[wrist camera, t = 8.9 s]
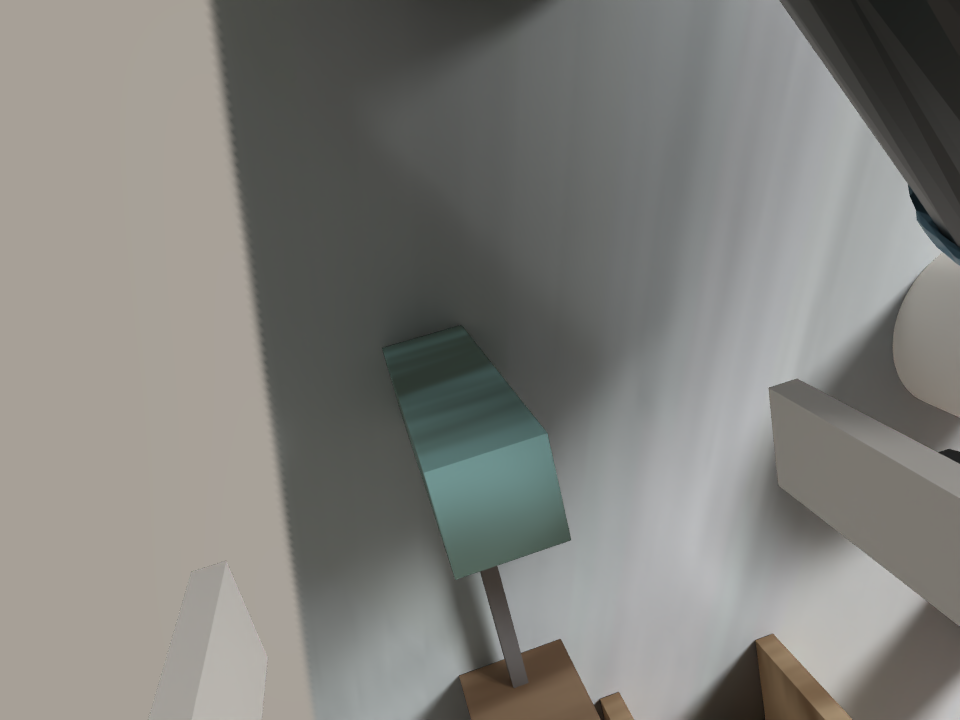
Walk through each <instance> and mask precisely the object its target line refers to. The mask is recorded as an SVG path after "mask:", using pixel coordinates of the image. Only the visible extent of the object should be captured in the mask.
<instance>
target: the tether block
mask: <svg viewBox="0 0 960 720" xmlns="http://www.w3.org/2000/svg"><path fill="white" fill-rule="evenodd" d="M382 350H383V353H384V357H385V360H386V363H387V367H388V370H389V373H390V377H391V380H392V383H393V387H394V390H395V393H396V397H397V400H398V404H399V407H400V410H401V414H402V417H403V420H404V423H405V427H406V430H407V433H408V436H409V439H410V442H411V445H412V448H413V451H414V454H415V457H416V460H417V464H418V467H419V470H420V473H421V476H422V479H423V482H424V485H425V488H426V491H427V494H428V497H429V500H430V504H431V507H432V510H433V513H434V516H435V519H436V522H437V525H438V528H439V531H440V534H441V537H442V540H443V544H444V547H445V550H446V553H447V556H448V559H449V562H450V565H451V568H452V571H453V574H454V577H455V580H457V579H460V578H462V577H465V576H468V575H471V574H474V573H477V572H480V573H481V577H482V580H483V584H484V587H485V591H486V594H487V598H488V602H489V605H490V609H491V612H492V616H493V619H494V623H495V627H496V630H497V634H498V637H499V641H500V644H501V648H502V652H503V655H504V660H501V661H498V662H496V663H493V664H490V665H487V666H485V667H482V668H479V669H476V670H474V671H471V672H468V673H465V674H463V675H460V676H459V677H460V681H461V684H462V688H463V692H464V695H465V699H466V703H467V706H468V710H469V714H470V717H471V720H601V719H600V717H599V715H598V713H597V711H596V709H595V707H594V705H593V703H592V701H591V699H590V697H589V695H588V693H587V691H586V689H585V687H584V685H583V683H582V681H581V679H580V677H579V675H578V673H577V671H576V669H575V667H574V665H573V663H572V661H571V659H570V657H569V655H568V653H567V651H566V649H565V647H564V645H563V643H562V641H561V639H559V640H556V641H553V642H551V643H548V644H545V645H542V646H540V647H537V648H534V649H531V650H529V651H526V652H523V653H521V652H520V648H519V645H518V641H517V637H516V634H515V630H514V626H513V622H512V619H511V615H510V611H509V608H508V604H507V600H506V596H505V593H504V589H503V585H502V582H501V578H500V574H499V570H498V567H497V565H500V564H503V563H506V562H509V561H512V560H515V559H518V558H521V557H524V556H526V555H529V554H532V553H535V552H538V551H541V550H544V549H547V548H550V547H553V546H556V545H559V544H561V543H564V542H567V541H570V540H571V537H570V532H569V528H568V523H567V519H566V514H565V510H564V505H563V501H562V497H561V492H560V488H559V483H558V479H557V474H556V470H555V465H554V461H553V456H552V452H551V447H550V443H549V438H548V434H547V432H546V431H545V430H544V428H543V427H542V426H541V425H540V423H539V422H538V421H537V420H536V418H535V417H534V416H533V415H532V413H531V412H530V411H529V410H528V408H527V407H526V406H525V405H524V403H523V402H522V401H521V400H520V398H519V397H518V396H517V395H516V393H515V392H514V391H513V390H512V388H511V387H510V386H509V385H508V383H507V382H506V381H505V380H504V378H503V377H502V376H501V375H500V373H499V372H498V371H497V369H496V368H495V367H494V366H493V364H492V363H491V362H490V361H489V359H488V358H487V357H486V356H485V354H484V353H483V352H482V351H481V349H480V348H479V347H478V346H477V344H476V343H475V342H474V341H473V339H472V338H471V337H470V336H469V334H468V333H467V332H466V331H465V329H464V328H463V327H462V326H461V325H460V326H456V327H453V328H450V329H446V330H443V331H439V332H436V333H433V334H429V335H426V336H422V337H419V338H416V339H412V340H409V341H405V342H402V343H398V344H395V345H392V346H388V347H385V348H382Z"/></svg>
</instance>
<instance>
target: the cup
mask: <svg viewBox="0 0 960 720" xmlns="http://www.w3.org/2000/svg"><path fill="white" fill-rule="evenodd" d="M892 348H893V357H894V364H895V367H896V370H897V373H898V376H899V378H900V380H901V381H902V383H903V384H904V386H905V388H906V389H907V390H908V391H909V392H910V393H911V394H913V395H914V396H915V397H916V398H918V399H920V400H922V401H923V402H925V403H927V404H930V405H932V406H934V407H937V408H939V409H941V410H943V411H946V412H948V413H950V414H953V415H955V416H957V417H960V266H959V265H958V264H956V263H955V262H954V261H953V260H952V259H950V258H949V257H948V256H947V255H946V254H944V253H942V254H940V255H939V256H938V257H937V258H936V259H934V260H933V261H932V262H931V263H930V264H929V265H928V266H927V267H926V268H925V269H924V270H923V271H922V273H921V274H920V275H919V276H918V277H917V279H916V280H915V281H914V283H913V284H912V286H911V288H910V289H909V291H908V293H907V294H906V296H905V298H904V300H903V303H902V305H901V307H900V310H899V312H898V315H897V319H896V323H895V327H894V333H893V347H892Z"/></svg>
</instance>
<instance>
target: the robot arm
mask: <svg viewBox="0 0 960 720" xmlns="http://www.w3.org/2000/svg"><path fill="white" fill-rule="evenodd" d="M779 1H780V2H781V3H782V5H783V6H784V8H785V9H786V10H787V12H788V13H789V15H790V16H791V18H792V19H793V20H794V22H795V23H796V25H797V26H798V28H799V29H800V30H801V32H802V33H803V35H804V36H805V38H806V39H807V40H808V42H809V43H810V45H811V46H812V48H813V49H814V50H815V52H816V53H817V55H818V56H819V58H820V59H821V60H822V62H823V63H824V65H825V66H826V68H827V69H828V70H829V72H830V73H831V75H832V76H833V78H834V79H835V80H836V82H837V83H838V85H839V86H840V88H841V89H842V90H843V92H844V93H845V95H846V96H847V98H848V99H849V100H850V102H851V103H852V105H853V106H854V108H855V109H856V110H857V112H858V113H859V115H860V116H861V118H862V119H863V120H864V122H865V123H866V125H867V126H868V128H869V129H870V130H871V132H872V133H873V135H874V136H875V137H876V139H877V140H878V142H879V143H880V145H881V146H882V147H883V149H884V150H885V152H886V153H887V155H888V156H889V157H890V159H891V160H892V162H893V163H894V165H895V166H896V167H897V169H898V170H899V172H900V173H901V175H902V176H903V177H904V179H905V180H906V182H907V183H908V188H909V194H910V197H911V200H912V202H913V204H914V207H915V209H916V215H917V221H918V223H919V224H920V226H921V227H922V229H923V230H924V232H925V233H926V234H927V236H928V237H929V238H930V239H931V241H932V242H933V243H934V244H935V245H936V247H937V248H939V249H940V250H941V251H942V252H943V253H944V254H946V255H947V256H948V257H949V258H950V259H952V260H953V261H954V262H955V263H956V264H958V265H959V266H960V0H779ZM769 398H770V408H771V418H772V428H773V439H774V449H775V459H776V469H777V479H778V485H779V486H780V487H781V488H782V489H784V490H785V491H786V492H788V493H789V494H790V495H791V496H793V497H794V498H795V499H797V500H798V501H799V502H800V503H802V504H803V505H804V506H806V507H807V508H808V509H809V510H811V511H812V512H813V513H815V514H816V515H817V516H818V517H820V518H821V519H822V520H824V521H825V522H826V523H827V524H829V525H830V526H831V527H832V528H834V529H835V530H836V531H838V532H839V533H840V534H841V535H843V536H844V537H845V538H847V539H848V540H849V541H850V542H852V543H853V544H854V545H856V546H857V547H858V548H859V549H861V550H862V551H863V552H865V553H866V554H867V555H868V556H870V557H871V558H872V559H874V560H875V561H876V562H877V563H879V564H880V565H881V566H883V567H884V568H885V569H886V570H888V571H889V572H890V573H892V574H893V575H894V576H895V577H897V578H898V579H899V580H901V581H902V582H903V583H904V584H906V585H907V586H908V587H910V588H911V589H912V590H913V591H915V592H916V593H917V594H919V595H920V596H921V597H922V598H924V599H925V600H926V601H927V602H929V603H930V604H931V605H933V606H934V607H935V608H936V609H938V610H939V611H940V612H942V613H943V614H944V615H945V616H947V617H948V618H949V619H951V620H952V621H953V622H954V623H956V624H957V625H958V626H960V452H959V451H955V450H951V449H947V450H944V451H941V452H936V451H934V450H932V449H930V448H928V447H927V446H925V445H923V444H921V443H919V442H917V441H915V440H913V439H911V438H909V437H907V436H906V435H904V434H902V433H900V432H898V431H896V430H894V429H892V428H890V427H888V426H886V425H885V424H883V423H881V422H879V421H877V420H875V419H873V418H871V417H869V416H867V415H866V414H864V413H862V412H860V411H858V410H856V409H854V408H852V407H850V406H848V405H846V404H845V403H843V402H841V401H839V400H837V399H835V398H833V397H831V396H829V395H827V394H825V393H824V392H822V391H820V390H818V389H816V388H814V387H812V386H810V385H808V384H806V383H804V382H803V381H801V380H799V379H794V380H791V381H788V382H785V383H782V384H779V385H775V386H772V387H769ZM267 661H268V656H267V654H266V652H265V649H264V647H263V645H262V642H261V640H260V638H259V635H258V633H257V631H256V628H255V626H254V624H253V621H252V619H251V617H250V614H249V612H248V610H247V607H246V605H245V603H244V600H243V598H242V596H241V593H240V591H239V589H238V586H237V584H236V582H235V579H234V577H233V575H232V572H231V570H230V568H229V565H228V563H227V561H224V562H220V563H217V564H214V565H211V566H208V567H205V568H202V569H198V570H195V571H192V572H191V575H190V578H189V582H188V585H187V589H186V592H185V595H184V599H183V602H182V606H181V609H180V613H179V616H178V619H177V623H176V626H175V630H174V633H173V637H172V640H171V643H170V647H169V650H168V654H167V657H166V661H165V664H164V667H163V671H162V674H161V678H160V681H159V684H158V688H157V691H156V695H155V698H154V702H153V705H152V708H151V712H150V715H149V719H148V720H262V712H263V702H264V692H265V682H266V672H267Z"/></svg>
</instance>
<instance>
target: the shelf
mask: <svg viewBox="0 0 960 720" xmlns="http://www.w3.org/2000/svg"><path fill="white" fill-rule="evenodd" d="M755 641H756V649H757V657H758V665H759V673H760V681H761V688H762V696H763V704H764V712H765V720H853V719H852V718H851V717H850V716H849V715H848V714H847V713H846V712H845V711H844V710H843V709H842V708H841V706H840V705H839V704H838V703H837V702H836V701H835V700H834V699H833V698H832V697H831V696H830V695H829V694H828V692H827V691H826V690H825V689H824V688H823V687H822V686H821V685H820V684H819V683H818V682H817V681H816V680H815V678H814V677H813V676H812V675H811V674H810V673H809V672H808V671H807V670H806V669H805V668H804V667H803V666H802V664H801V663H800V662H799V661H798V660H797V659H796V658H795V657H794V656H793V655H792V654H791V653H790V652H789V650H788V649H787V648H786V647H785V646H784V645H783V644H782V643H781V642H780V641H779V640H778V639H777V638H776V636H775V635H774V634H771V635H769V636H766V637H763V638H761V639H758V640H755ZM600 701H601V705H602V710H603V714H604V718H605V720H634V719H633V717H632V715H631V713H630V711H629V710H628V708H627V706H626V704H625V702H624V700H623V699H622V697H621V695H620V693H619V692H618V693H615V694H612V695H610V696H607V697H605V698H602V699H600Z"/></svg>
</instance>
